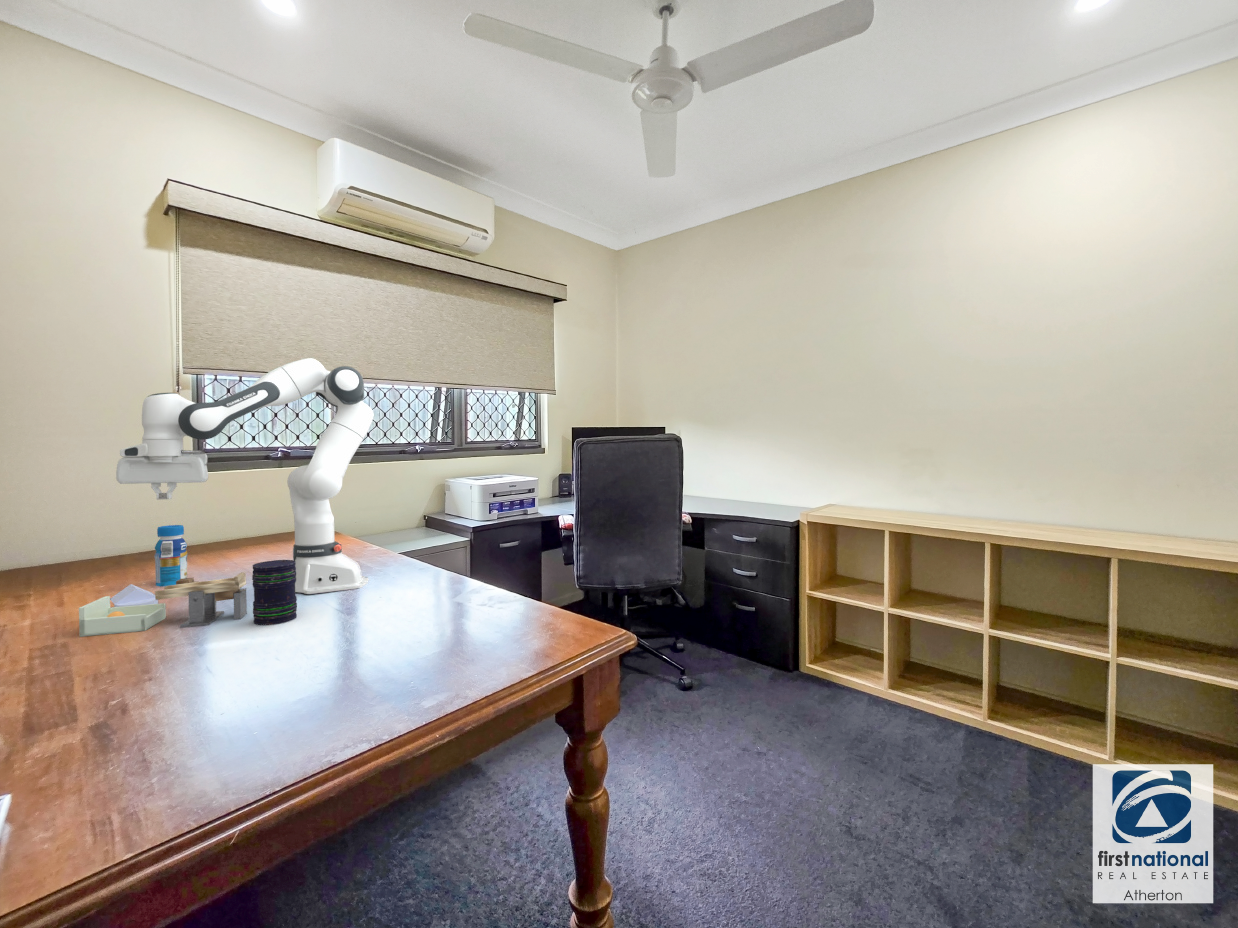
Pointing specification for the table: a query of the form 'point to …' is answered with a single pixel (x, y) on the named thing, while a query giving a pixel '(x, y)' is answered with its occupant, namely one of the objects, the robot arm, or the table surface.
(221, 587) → the lever
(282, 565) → the dark barrel
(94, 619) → the tray
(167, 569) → the beverage bottle
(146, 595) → the wedge on round base
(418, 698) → the table surface
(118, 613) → the ball
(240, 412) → the robot arm
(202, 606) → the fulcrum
